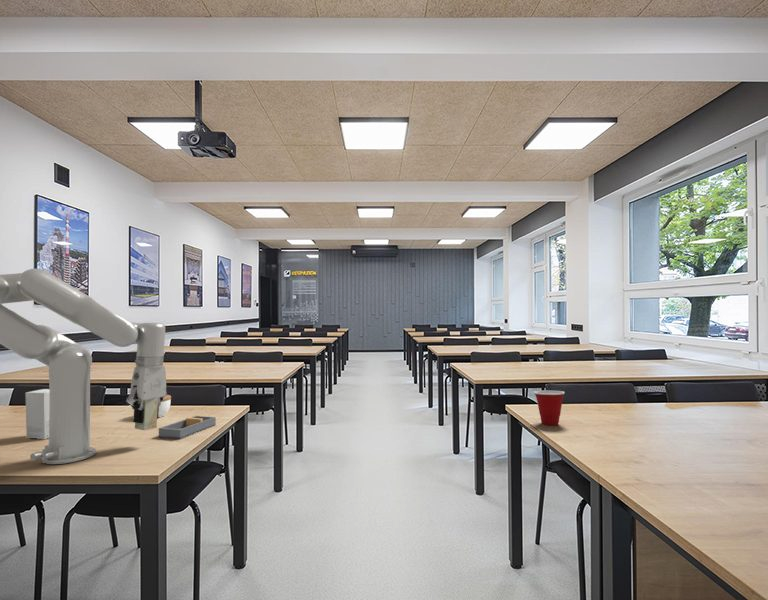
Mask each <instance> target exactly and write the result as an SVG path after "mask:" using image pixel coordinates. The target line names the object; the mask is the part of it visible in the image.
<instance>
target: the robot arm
mask: <svg viewBox="0 0 768 600" xmlns="http://www.w3.org/2000/svg"><path fill="white" fill-rule="evenodd" d="M30 301H31V302H32V301H33V302H35V303H37V304H38V305H40V306H42V307H45V308H46V309H48V310H50V311H51V312H54V313H55V314H57V315H58V316H60V317H63V318H64V319H66V320H68V321H69V322H71V323H73V324H75V325H77V326H80V327H82V328H83V329H86V330H87V331H88V332H90V333H92V334H94V335H96V336H98V337H100V338H101V339H103V340H104V341H107V342H108V343H111V344H112V345H114V346H116V347H120V348H125V347H129V346H131V345H137V347H136V357H135V360H134V363H135V367H134V369H133V373H132V375H131V376H132V377H131V382H130V392H129V395H128V396H127V398H126V403H127V404H129V405H130V406H131V409H132V410H133V420H132V421H133V423H134V424H135V423H143V419H144V410H142V409H143V405H144V401H145V400H150V399H155V398H158V409H157V420H158V419H159V418H158V413H159V406H160V405H161V401H162V400H163V398H164V397H165V396H166V395H168V393H167V373H166V366H165V365H164V357H165V354H164V353H165V344H166V343H165V340H166V326H165V324H164V323H161V322H142V323H139V322H132V321H128V320H126V319H125V318H123V317H121V316H119V315H118V314H116V313H114V312H113V311H112V310H109V309H108V308H106V307H104V306H102V305H101V304H99V303H98V302H97V301H96V300H94V299H93V298H92V297H90V295H87V294H86V293H84V292H82V291H80V289H77V288H76V287H74V286H72V285H70V284H69V283H67V282H65V281H63V280H62V279H60V278H58V277H57V276H55V275H53V273H52V274H51V273H50V272H48V271H46V270H44V269H40V268H30V269H27V270H25V271H23V272H19V273H7V274H6V273H5V274H0V345H1V346H3V347H5V348H6V349H8V350H10V351H12V352H13V353H15V354H17V356H20V357H22V358H25V359H29V360H36V361H38V362H39V363H42V364H44V365H45V366H47V367H48V382H49V383H48V384H49V385H48V386H49V388H48V389H50V399H49V405H50V410H49V438H48V444H47V445H44V448H43V449H42V450H41V451H37V452H33V453H31V454H30V456H29V457H30V460H31V461H32V462H34V461H37V460H40V459H41V463H43V464H45V463H46V465H61V464H63V465H64V464H70V463H75V462H80V461H83V460H86V459H89V458H91V457H93V456H94V455H95V454H96V453H97V449H96V448H95V447H93V446H90V443H91V442H90V439H91V438H90V437H91V436H90V435H91V428H90V427H91V367H92V363H93V357H92V354H91V352H90V351H89V349H87V348H86V347H84V346H82V345H81V344H79V343H77V342H76V341H74V340H72V339H71V338H69V337H67V336H66V335H63V334H62V333H60V332H58V331H57V330H55V329H53V328H51V327H49V326H46V325H44V324H36V323H33V322H32V321H30V320H28V319H27V318H25V317H24V316H21V315H20V314H18V313H17V312H15V311H13V310H11V309H9V308H8V307H6V306H4V305H3V304H11V303H13V304H14V303H23V302H30ZM139 401H140V404H138V402H139Z"/></svg>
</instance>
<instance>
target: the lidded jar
mask: <svg viewBox="0 0 768 600" xmlns="http://www.w3.org/2000/svg"><path fill="white" fill-rule="evenodd" d="M171 400H172V395H170V394H166V396H165V397H164V398H163V400H162V401H161V405H160V406H159V413H158V417H160V418H163V417H165V416H164V415H167V414H168V412H169V410H170V409H171V408H170V407H171V402H172V401H171ZM162 416H163V417H162Z"/></svg>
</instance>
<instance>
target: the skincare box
mask: <svg viewBox="0 0 768 600" xmlns="http://www.w3.org/2000/svg"><path fill="white" fill-rule="evenodd" d="M24 395H25V426H26V429H25V431H26V438H27V437H28V438H27V439H30V438H37V439H36V440H48V439H49V410H50V405H49V399H50V388H42V389H36V390H32V391H28V392H27V391H26V392H25V394H24ZM47 438H48V439H47Z"/></svg>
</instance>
